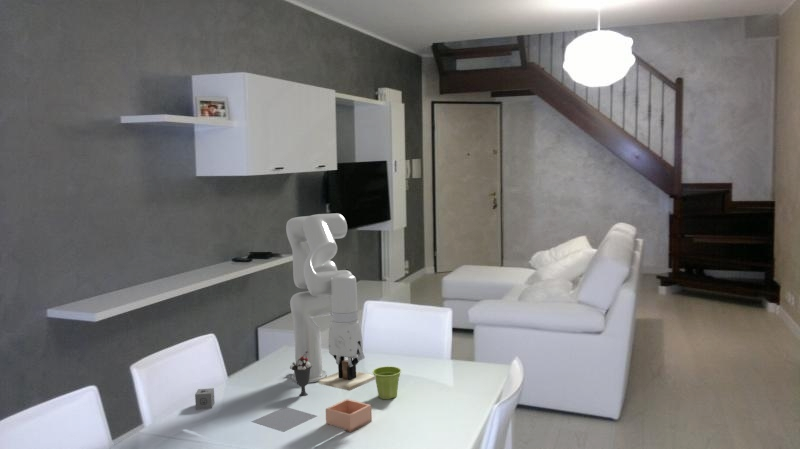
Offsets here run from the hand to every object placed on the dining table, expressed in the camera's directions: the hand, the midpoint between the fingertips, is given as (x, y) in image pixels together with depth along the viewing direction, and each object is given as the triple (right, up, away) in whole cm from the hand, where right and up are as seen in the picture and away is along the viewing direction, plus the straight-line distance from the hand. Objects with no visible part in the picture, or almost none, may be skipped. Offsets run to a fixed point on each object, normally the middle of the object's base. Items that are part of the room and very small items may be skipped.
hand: (347, 377), depth 193 cm
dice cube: (-48, -14, +19) cm, 53 cm away
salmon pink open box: (0, -14, +1) cm, 14 cm away
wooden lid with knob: (0, -1, 0) cm, 1 cm away
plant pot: (+12, -12, +23) cm, 28 cm away
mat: (-19, -14, +5) cm, 25 cm away
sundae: (-17, -12, +25) cm, 33 cm away
